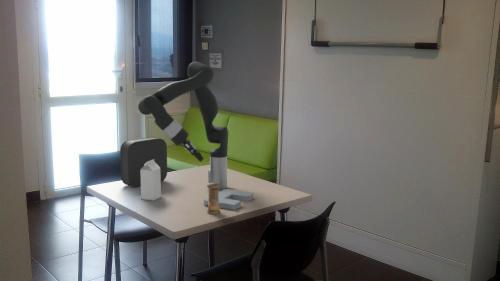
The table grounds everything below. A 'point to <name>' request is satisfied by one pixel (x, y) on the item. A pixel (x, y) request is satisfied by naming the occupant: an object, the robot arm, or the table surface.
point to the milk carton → (150, 181)
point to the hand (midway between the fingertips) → (201, 158)
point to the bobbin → (213, 198)
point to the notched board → (228, 195)
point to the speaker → (142, 158)
